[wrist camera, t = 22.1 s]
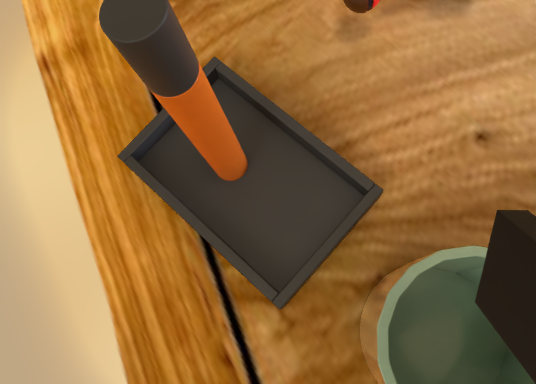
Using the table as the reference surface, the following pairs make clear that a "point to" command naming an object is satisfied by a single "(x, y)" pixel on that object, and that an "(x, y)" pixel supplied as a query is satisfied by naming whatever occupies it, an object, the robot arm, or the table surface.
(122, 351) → the table surface
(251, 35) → the table surface
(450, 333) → the pen cup
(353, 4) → the toy figure
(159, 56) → the marker
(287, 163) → the pen tray
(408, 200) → the table surface
